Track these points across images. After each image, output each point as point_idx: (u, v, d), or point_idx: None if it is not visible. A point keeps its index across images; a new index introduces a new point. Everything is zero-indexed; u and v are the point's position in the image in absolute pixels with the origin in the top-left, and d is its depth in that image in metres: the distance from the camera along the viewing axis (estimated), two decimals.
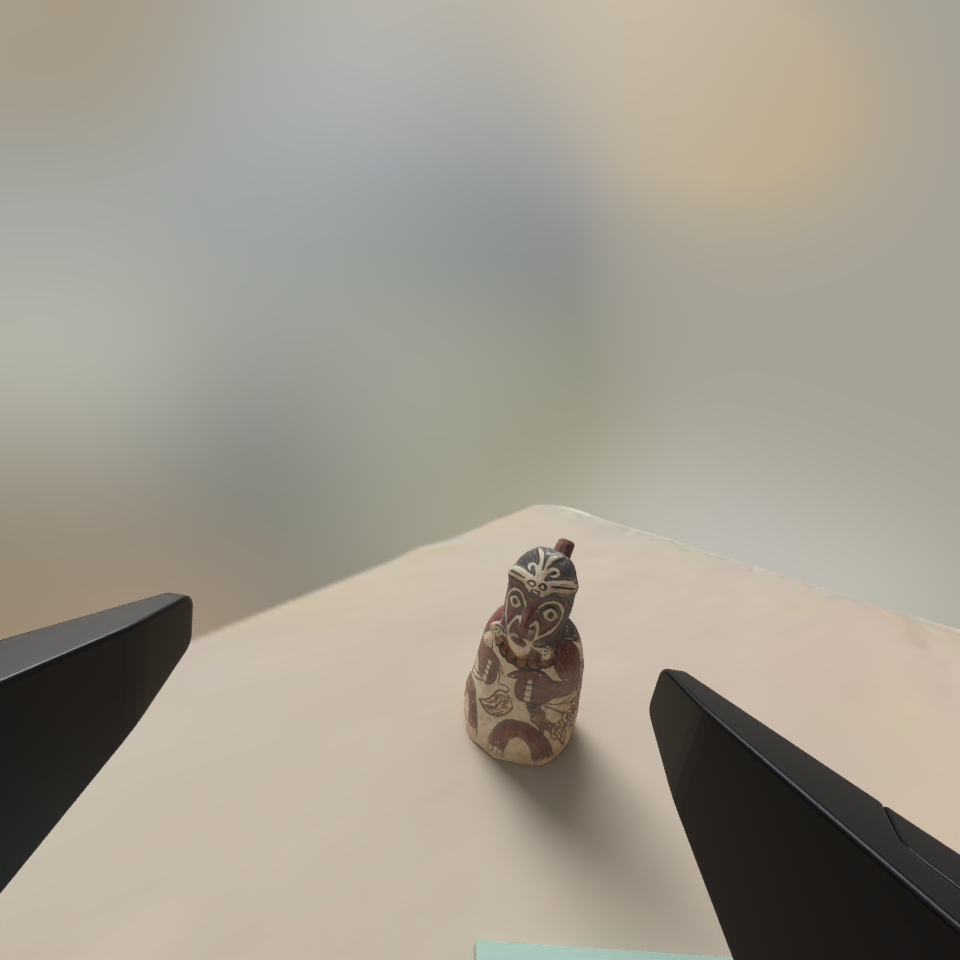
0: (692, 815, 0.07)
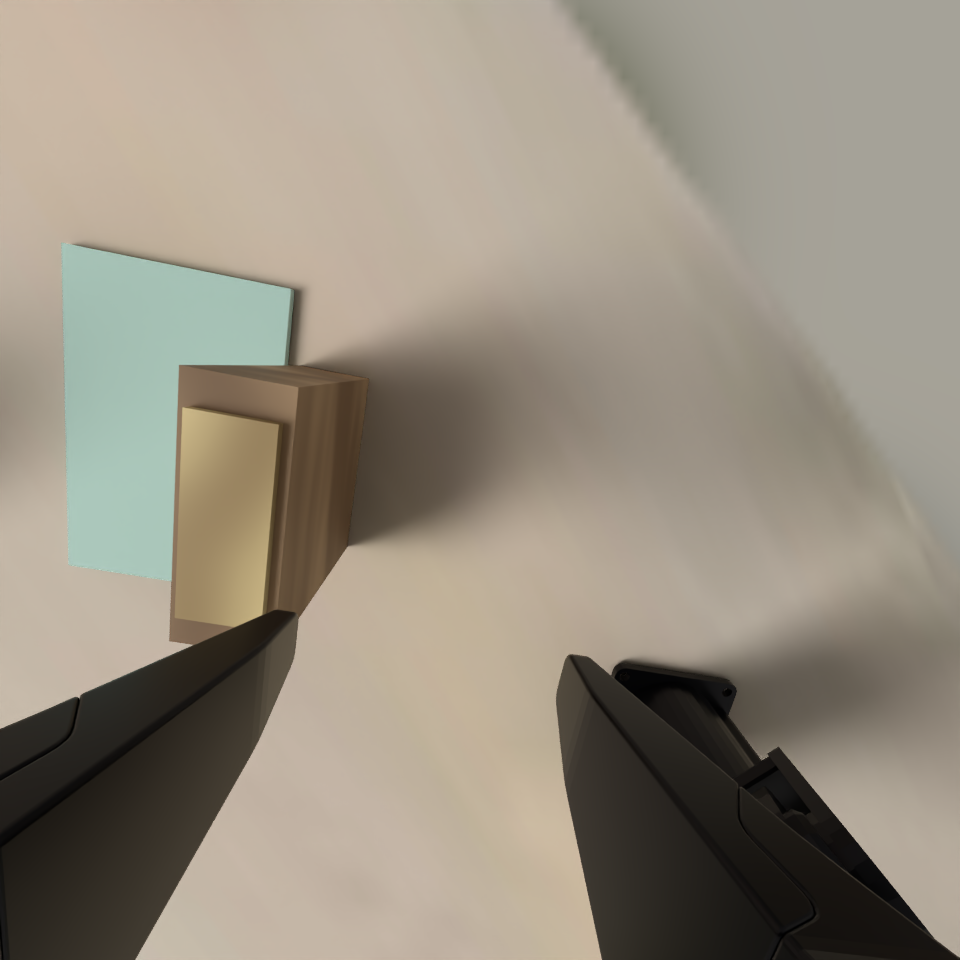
0: (577, 800, 0.07)
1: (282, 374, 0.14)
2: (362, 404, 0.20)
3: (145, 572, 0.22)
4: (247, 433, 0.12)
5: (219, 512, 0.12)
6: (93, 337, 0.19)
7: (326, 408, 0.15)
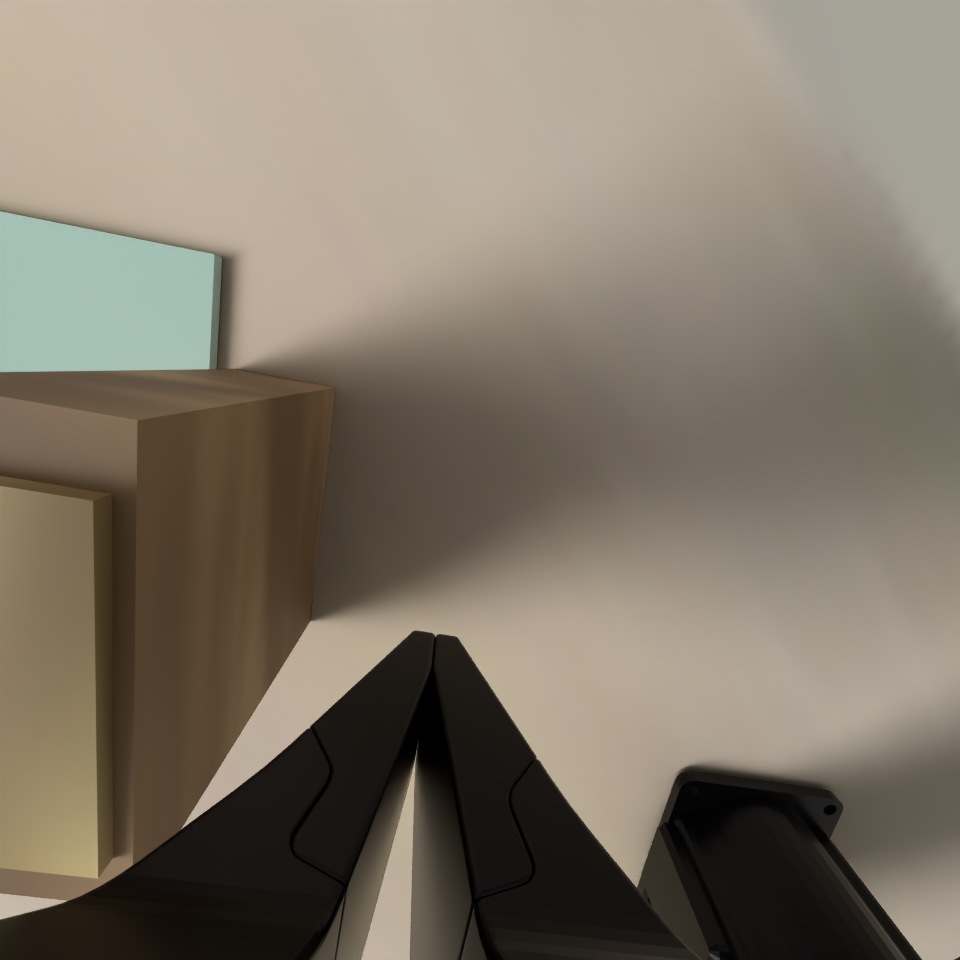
0: (417, 779, 0.07)
1: (159, 387, 0.08)
2: (325, 425, 0.14)
3: None
4: (28, 519, 0.06)
5: None
6: None
7: (241, 446, 0.08)
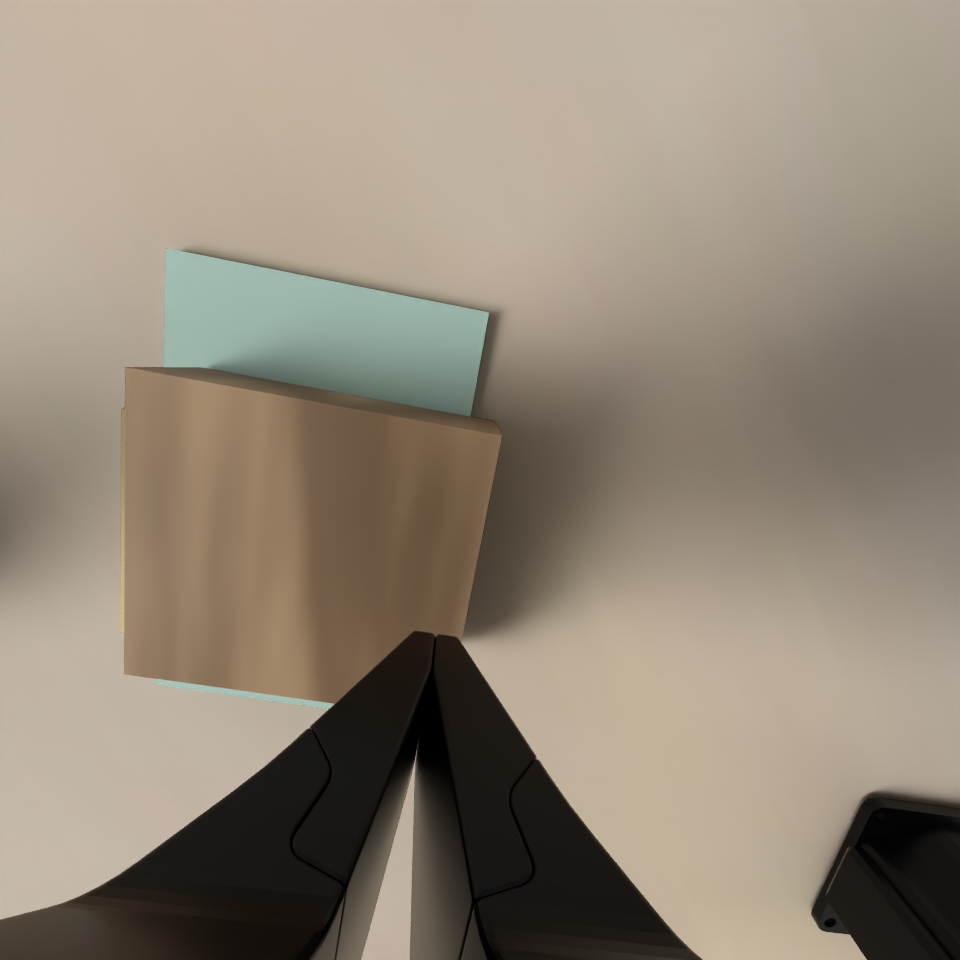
0: (417, 779, 0.07)
1: (276, 387, 0.12)
2: (466, 475, 0.11)
3: (258, 693, 0.16)
4: None
5: None
6: None
7: (246, 424, 0.11)
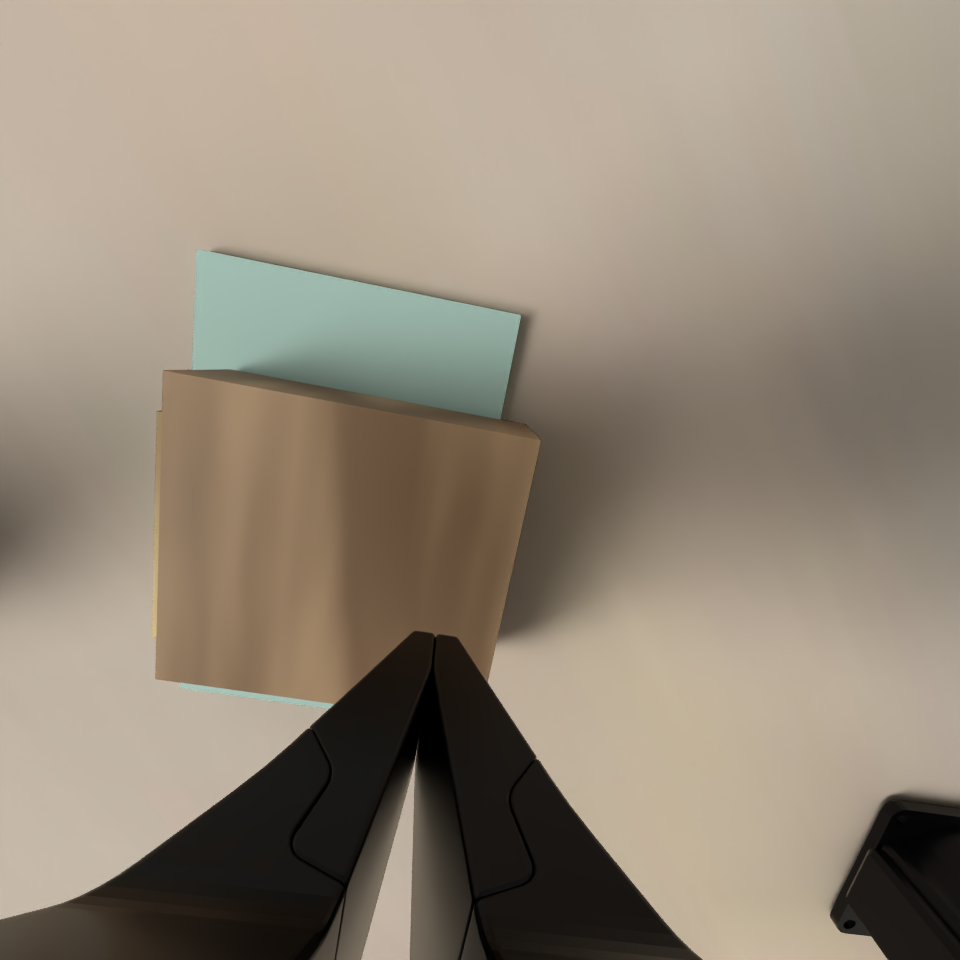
0: (417, 779, 0.07)
1: (310, 390, 0.12)
2: (504, 479, 0.11)
3: None
4: None
5: None
6: None
7: (283, 428, 0.11)
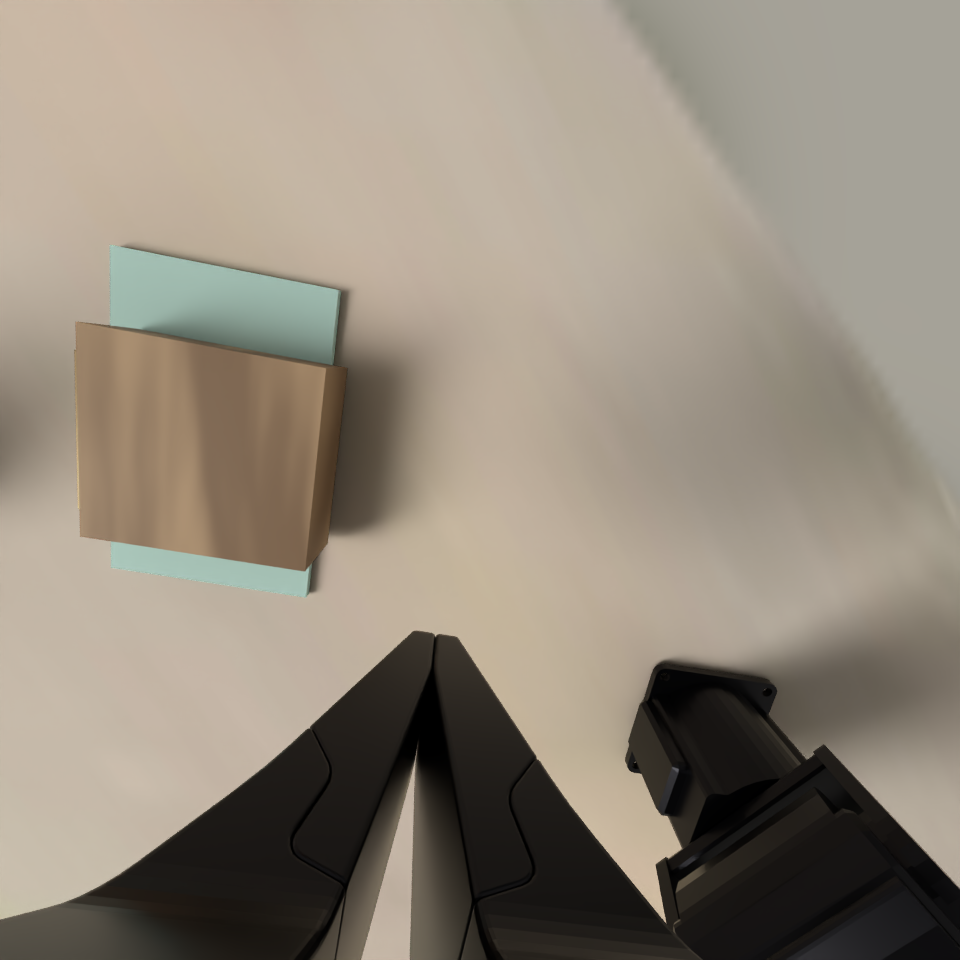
0: (417, 779, 0.07)
1: (183, 339, 0.17)
2: (304, 395, 0.17)
3: (187, 575, 0.22)
4: None
5: None
6: None
7: (156, 359, 0.16)
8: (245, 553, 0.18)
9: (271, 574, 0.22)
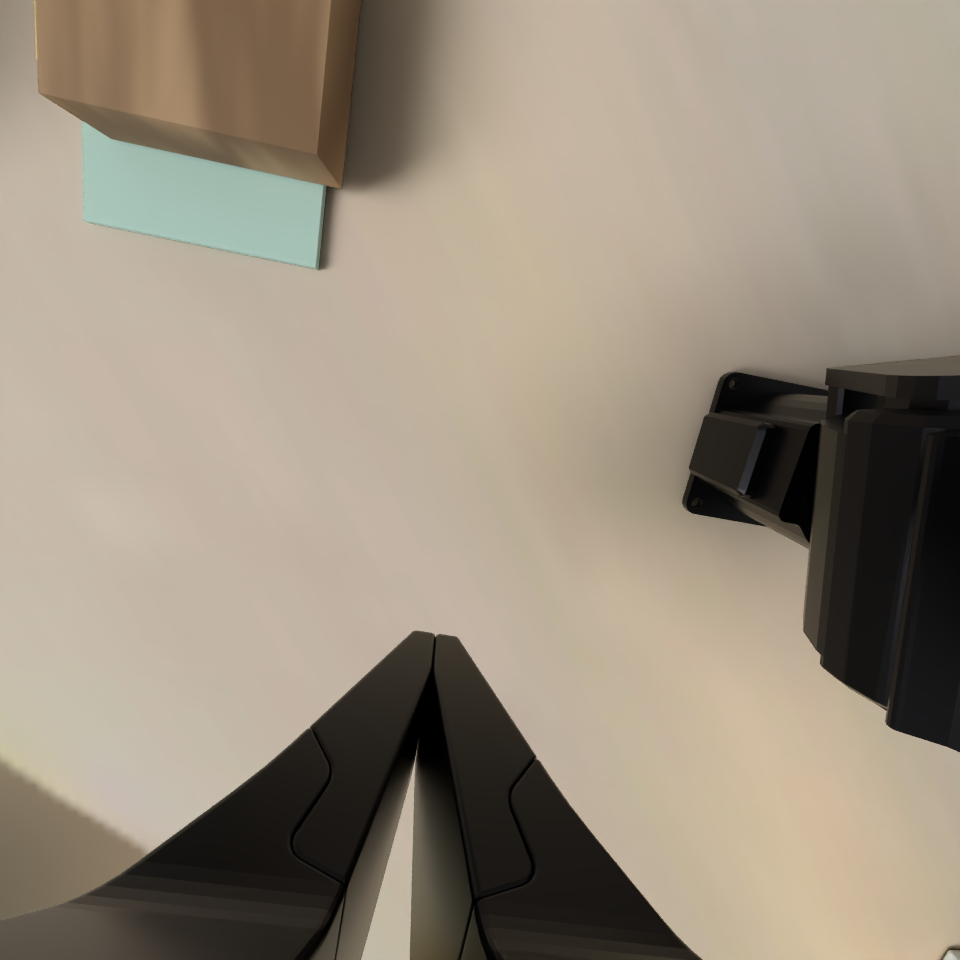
0: (417, 779, 0.07)
1: None
2: None
3: (175, 233, 0.18)
4: None
5: None
6: None
7: None
8: (243, 124, 0.15)
9: (274, 234, 0.18)
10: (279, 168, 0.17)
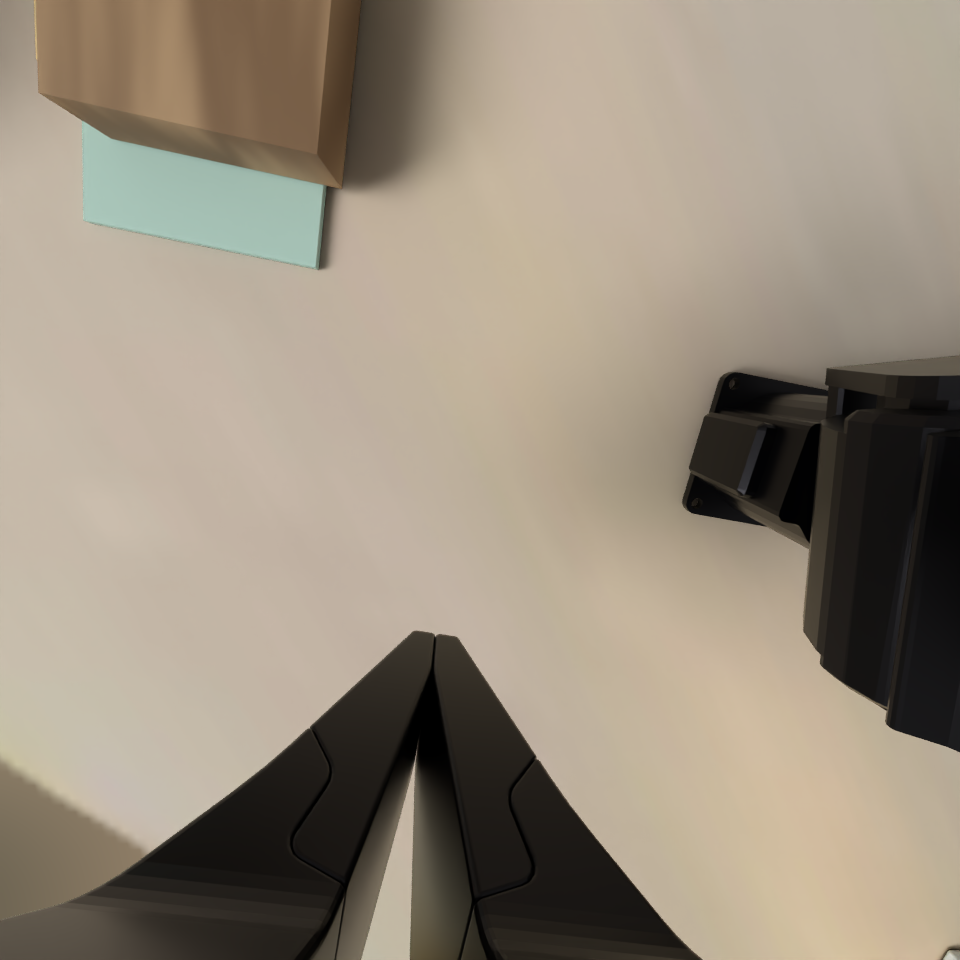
0: (417, 779, 0.07)
1: None
2: None
3: (175, 233, 0.18)
4: None
5: None
6: None
7: None
8: (243, 124, 0.15)
9: (274, 234, 0.18)
10: (279, 168, 0.17)
